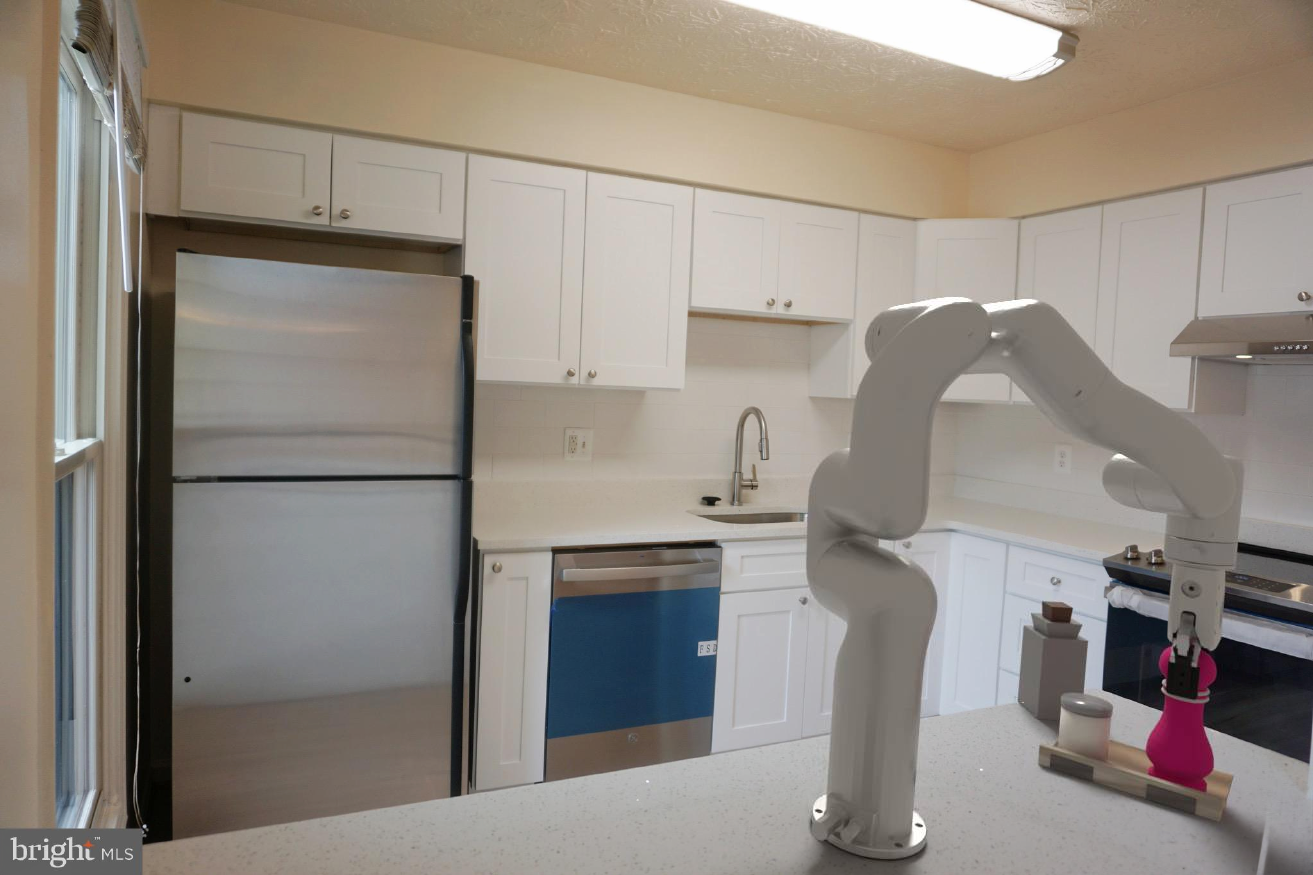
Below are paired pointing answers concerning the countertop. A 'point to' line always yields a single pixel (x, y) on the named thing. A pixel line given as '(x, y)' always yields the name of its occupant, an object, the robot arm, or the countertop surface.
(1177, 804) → the shelf
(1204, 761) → the pepper mill
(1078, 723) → the jar
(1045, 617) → the perfume bottle
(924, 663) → the robot arm
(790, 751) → the countertop surface
